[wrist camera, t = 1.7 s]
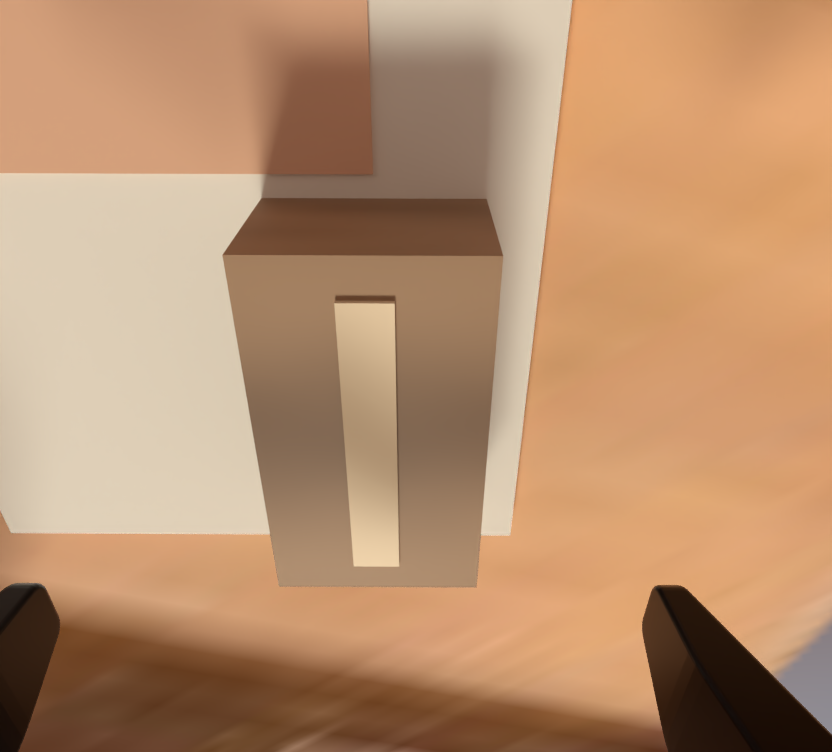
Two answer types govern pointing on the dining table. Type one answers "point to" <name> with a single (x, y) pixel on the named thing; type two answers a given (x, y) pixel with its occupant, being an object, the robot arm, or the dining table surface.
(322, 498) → the slotted tan box
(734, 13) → the dining table surface
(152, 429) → the mat
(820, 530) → the dining table surface
